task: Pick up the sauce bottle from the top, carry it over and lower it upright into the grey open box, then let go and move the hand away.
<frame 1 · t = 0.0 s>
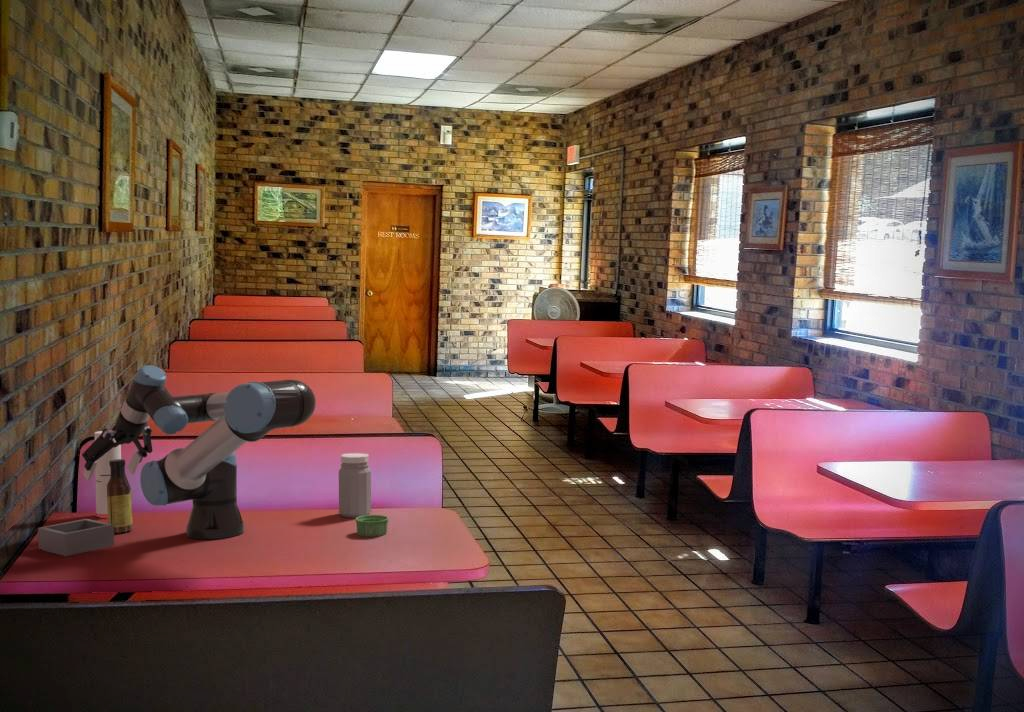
hand: (108, 474, 276), 15 cm above the table, tool tilted 35°, fingers open, 13 cm apart
grey open box: (76, 547, 255), on the table
ramekin: (372, 534, 271), on the table
sauce bottle: (120, 532, 273), on the table
jar: (355, 515, 295), on the table
cylindrical container: (109, 516, 293), on the table
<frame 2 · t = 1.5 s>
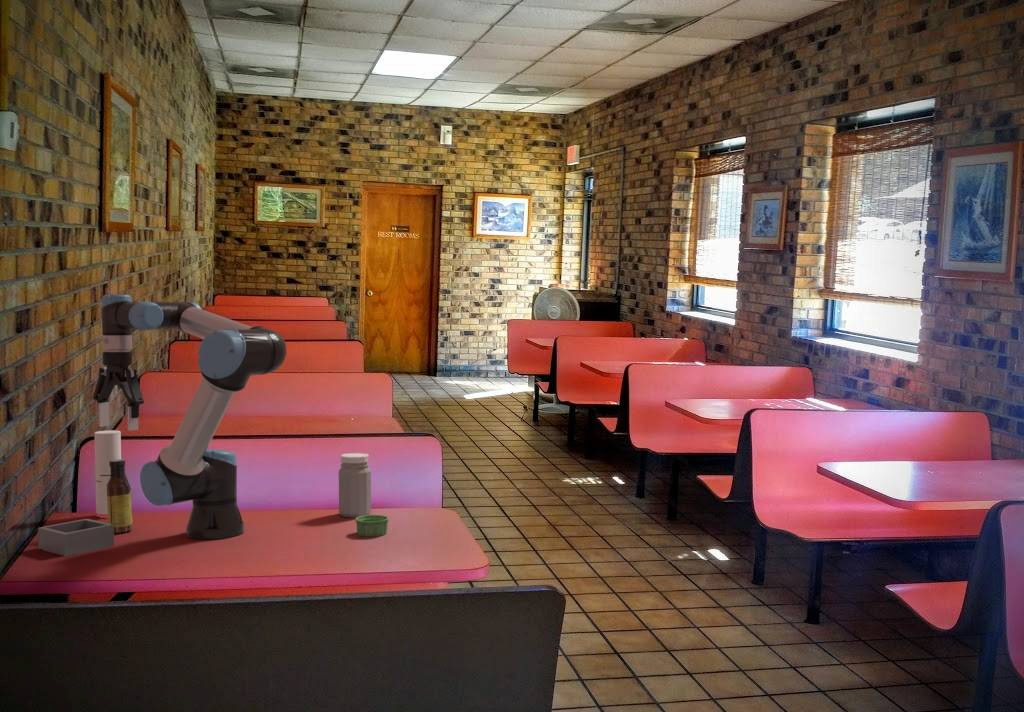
hand: (118, 428, 271), 29 cm above the table, tool pointing down, fingers open, 13 cm apart
nothing on the table moved.
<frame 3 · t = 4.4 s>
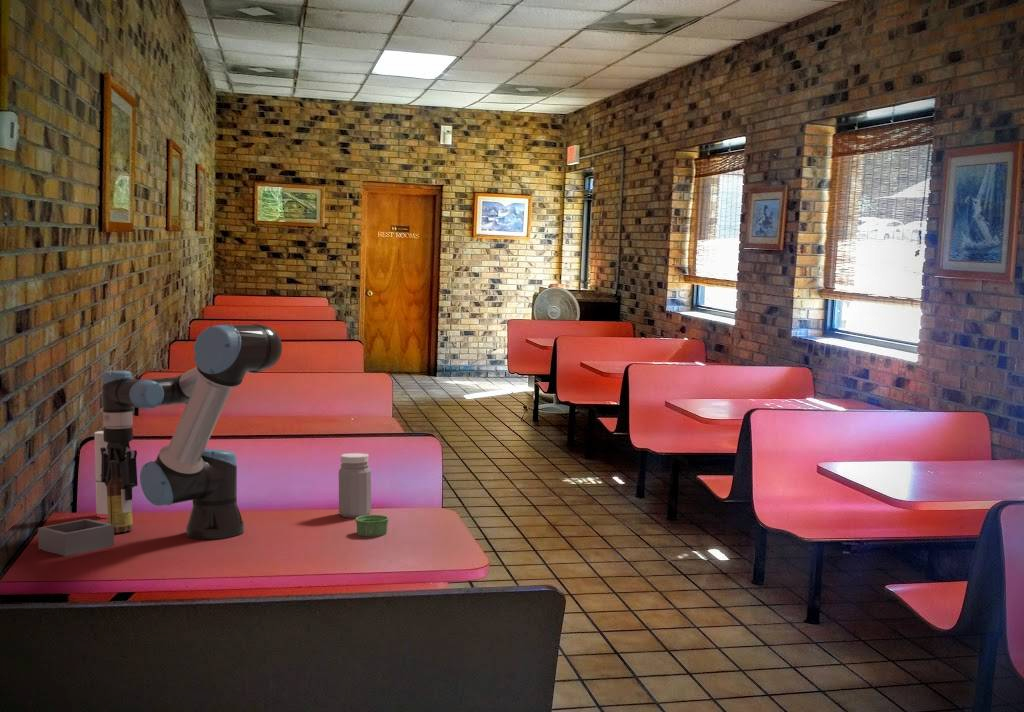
hand: (119, 510, 272), 6 cm above the table, tool pointing down, fingers closed on sauce bottle, 6 cm apart
sauce bottle: (120, 532, 273), on the table, touching gripper
everything else where it was.
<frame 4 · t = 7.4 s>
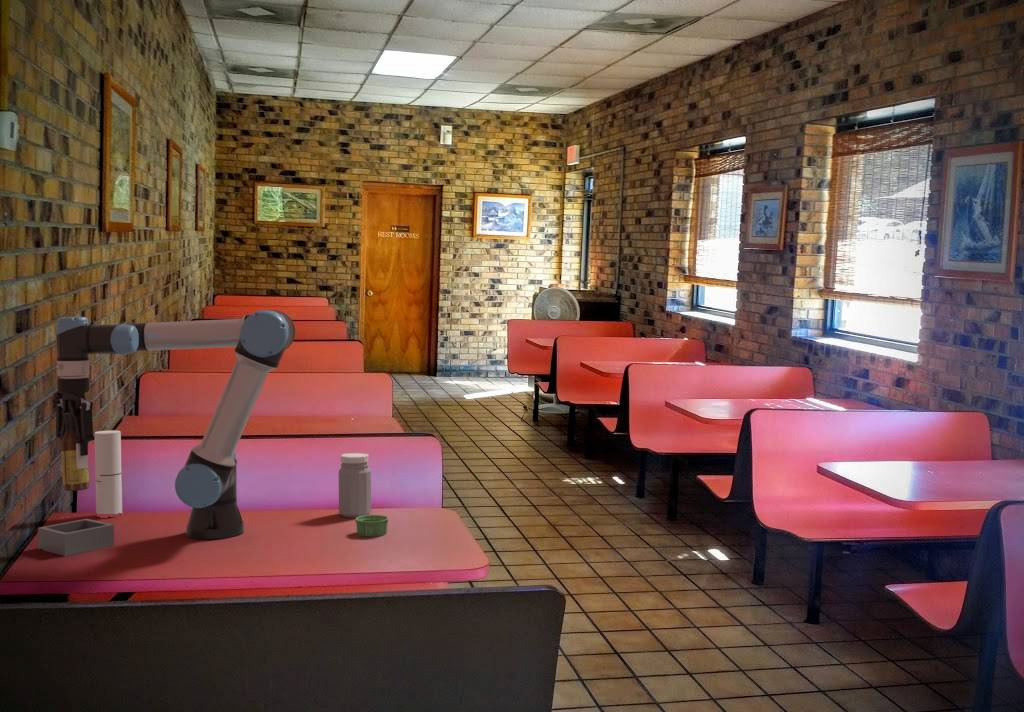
hand: (75, 466, 254), 21 cm above the table, tool pointing down, fingers closed on sauce bottle, 6 cm apart
sauce bottle: (75, 490, 254), point 15 cm above the table, touching gripper
everything else where it was.
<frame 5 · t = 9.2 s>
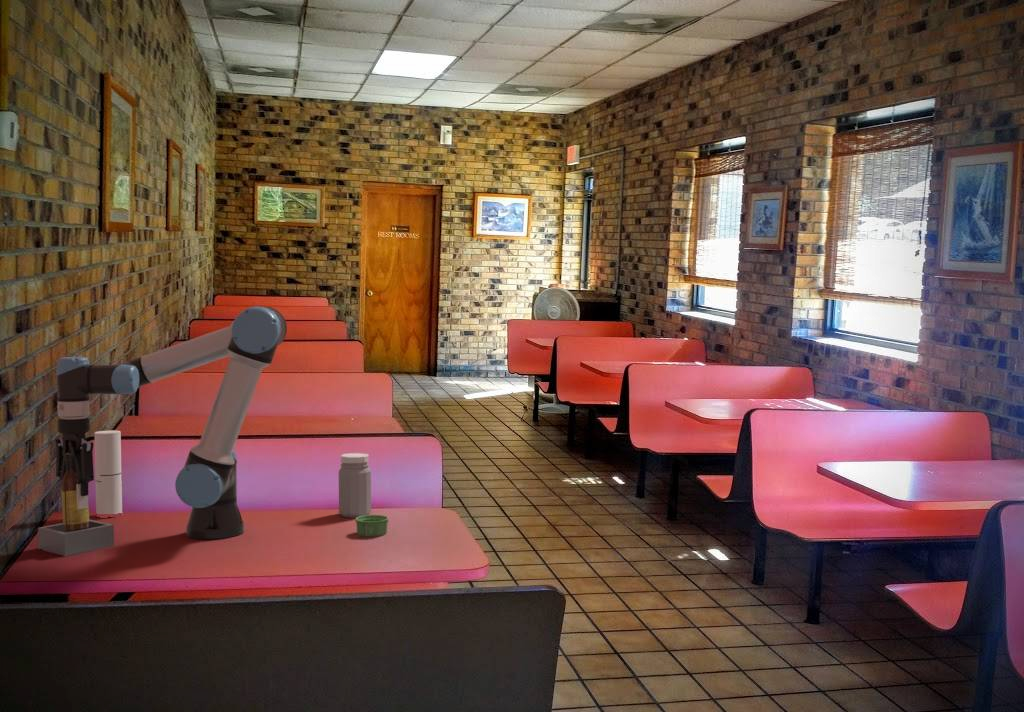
hand: (75, 506, 254), 11 cm above the table, tool pointing down, fingers closed on sauce bottle, 6 cm apart
sauce bottle: (75, 529, 254), point 5 cm above the table, touching gripper
everything else where it was.
when the fingers open (8 cm above the table, at t = 10.5 s): sauce bottle drops 2 cm, resting on grey open box.
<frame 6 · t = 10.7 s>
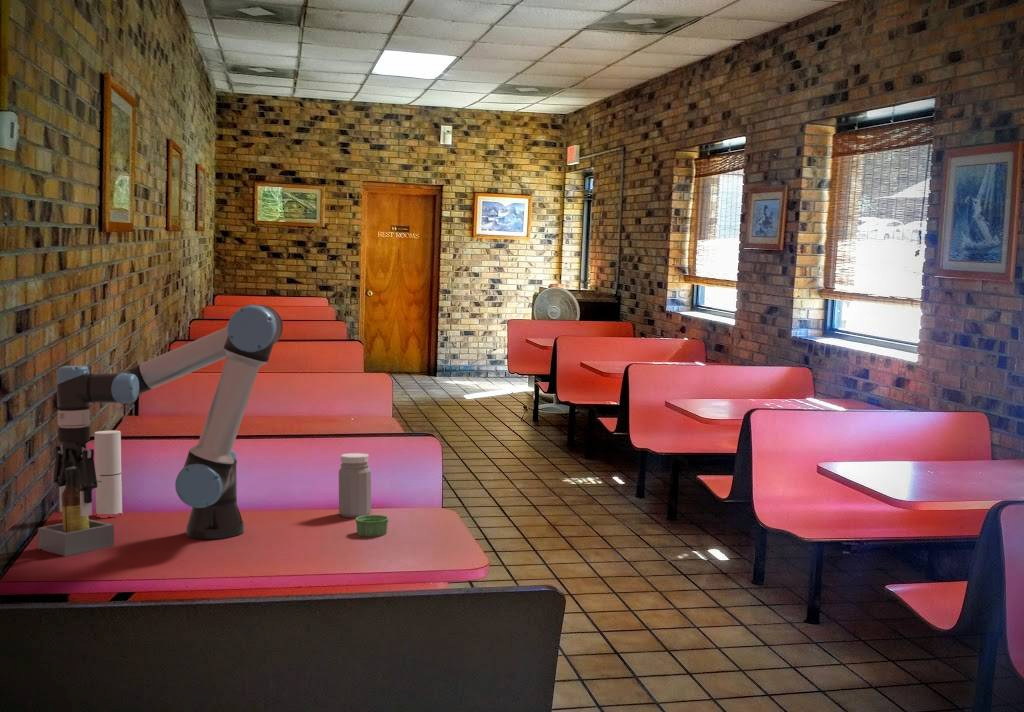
hand: (75, 513, 254), 9 cm above the table, tool pointing down, fingers open, 9 cm apart
sauce bottle: (76, 544, 255), point 1 cm above the table, touching grey open box
everything else where it was.
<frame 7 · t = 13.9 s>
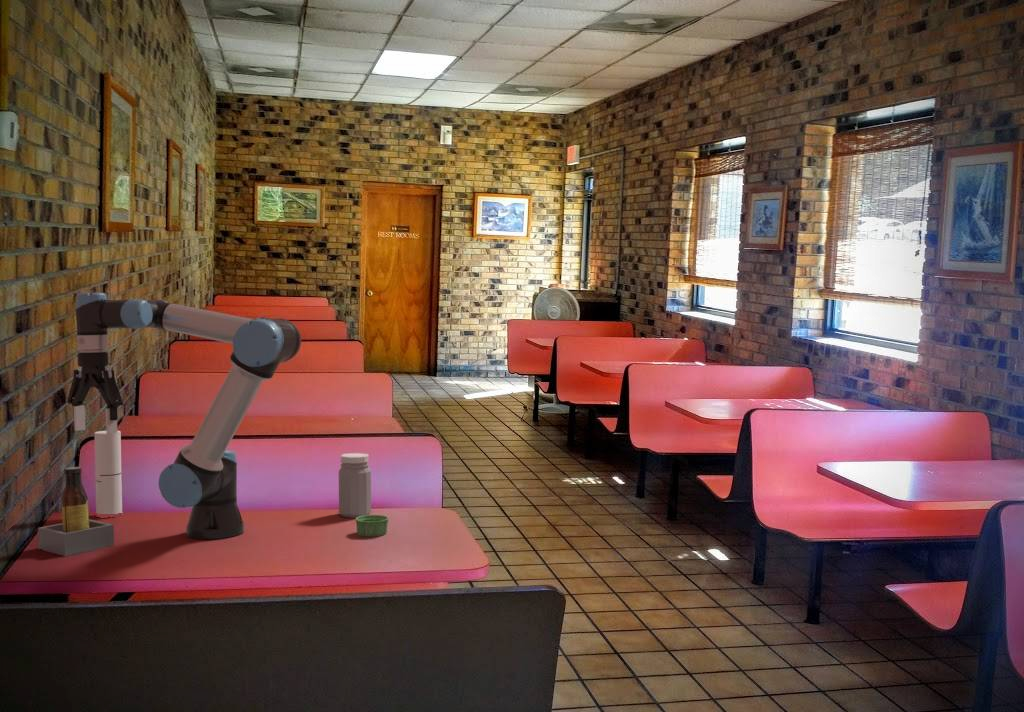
hand: (95, 431, 261), 29 cm above the table, tool pointing down, fingers open, 13 cm apart
nothing on the table moved.
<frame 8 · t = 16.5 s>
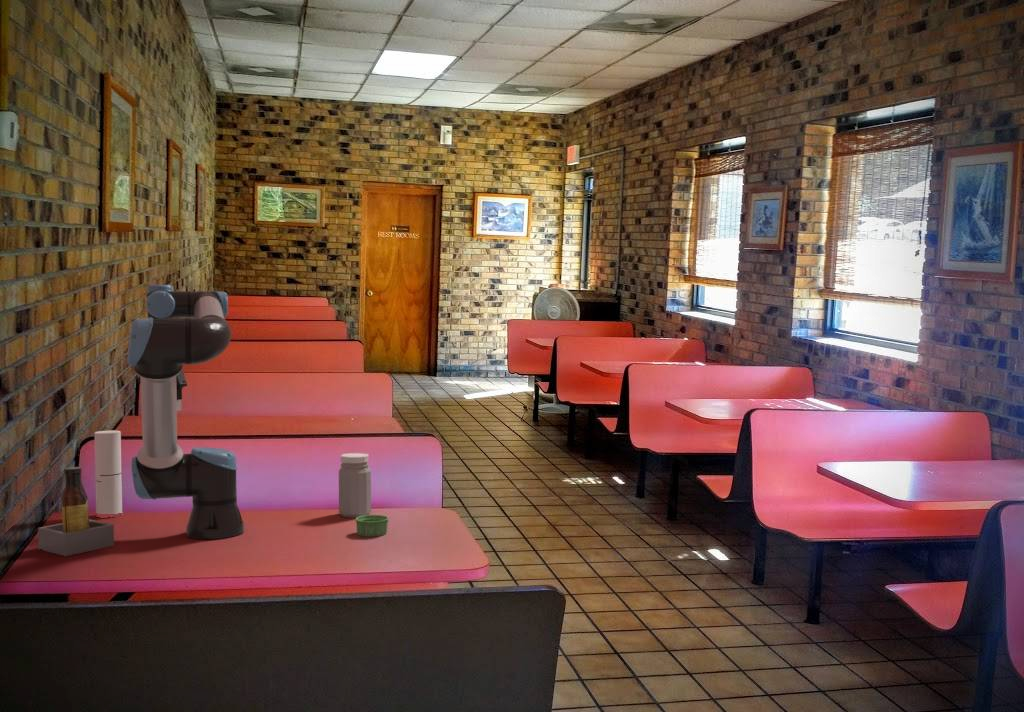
hand: (162, 409, 290), 32 cm above the table, tool pointing down, fingers open, 13 cm apart
nothing on the table moved.
at the end: sauce bottle 0.1 cm off-centre on the grey open box, point 0.6 cm above the grey open box's base; sauce bottle tilted 0°; the gripper is holding nothing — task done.
